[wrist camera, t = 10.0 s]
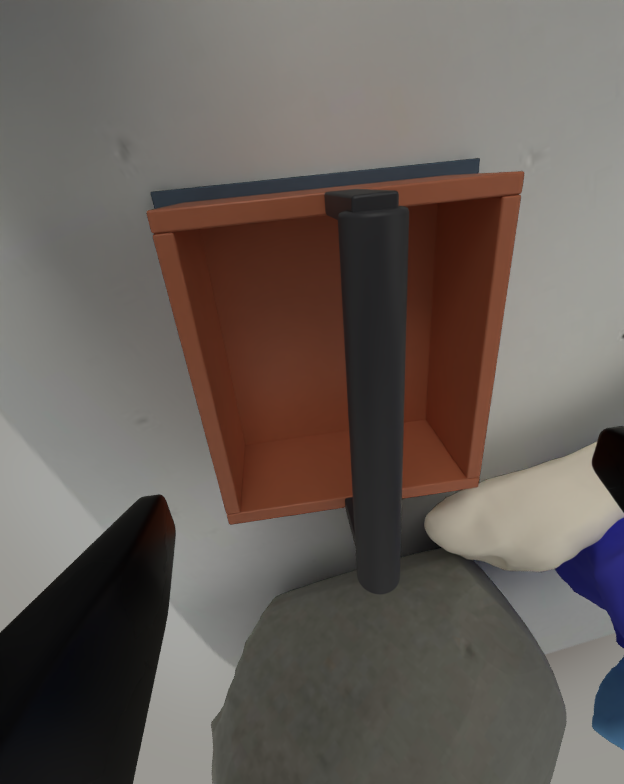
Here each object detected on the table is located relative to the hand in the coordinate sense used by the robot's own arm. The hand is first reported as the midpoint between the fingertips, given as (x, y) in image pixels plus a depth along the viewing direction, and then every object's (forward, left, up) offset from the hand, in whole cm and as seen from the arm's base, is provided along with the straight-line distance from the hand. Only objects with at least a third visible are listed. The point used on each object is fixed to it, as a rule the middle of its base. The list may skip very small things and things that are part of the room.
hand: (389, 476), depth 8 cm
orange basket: (0, 0, -9) cm, 9 cm away
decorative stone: (-18, 0, -9) cm, 20 cm away
